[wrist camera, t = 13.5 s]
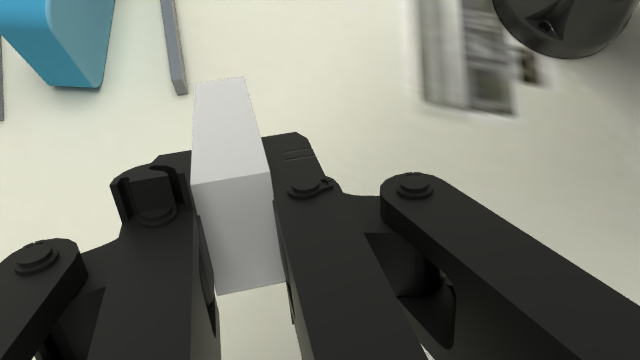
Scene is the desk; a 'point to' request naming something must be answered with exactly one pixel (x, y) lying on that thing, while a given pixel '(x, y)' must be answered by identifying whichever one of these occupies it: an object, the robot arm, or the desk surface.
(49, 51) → the data package
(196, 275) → the robot arm
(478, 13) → the desk surface
